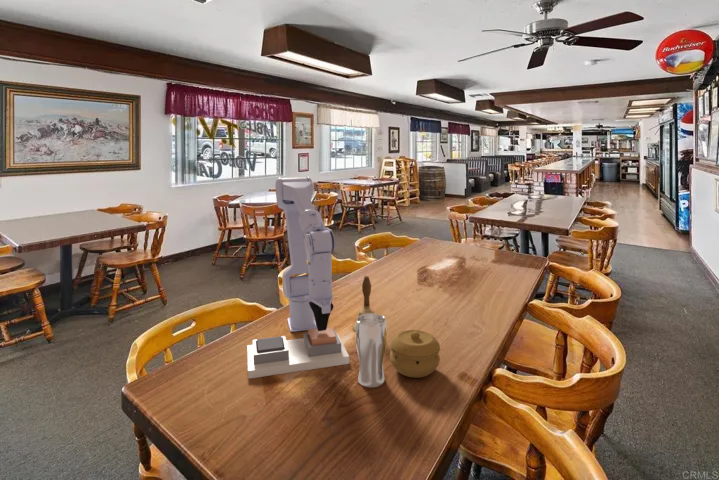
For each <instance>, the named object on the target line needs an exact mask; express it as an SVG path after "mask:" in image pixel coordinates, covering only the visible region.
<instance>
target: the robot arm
mask: <svg viewBox="0 0 719 480" xmlns="http://www.w3.org/2000/svg"><path fill="white" fill-rule="evenodd" d="M274 186H275V197H276V198H275V200H276V204H277V207H278V208H279V209H281V210H282V211H283V212H284V215H285V223H286V231H287V232H286V234H287V242H288V250H289V260H290V266H289V267H288V268H287V269H285V271H284V272H283V274H282V292H283V295H284V297H285V298H286V299H288V303H289V304H288V305H289V317H288V318H287V324H288V327H289V331H290V333H292V332H293V333H295V332H302V331H308V329H315V328H317V329H318V331H323V330H326V329H327V327H328V325H329V319H330V316H331V313H332V311H333V309H334V304H333V299H334V293H333V271H332V269H333V268H332V267H333V265H332V260H333V259H332V258H333V257H332V253H334V252H335V249H336V239H335V235H334V232H333V229H330V228H329V226H327V227H326V225H325V223H324V220H323V218H322V215H321V214H320V211H318V210H316V209H314V206H313V203H312V197H313V194H314V184H313V180H312V178H311V177H309V176H303V177H300V176H299V177H277V179H276V180H275V185H274ZM301 274H303V275H301ZM294 275H296V276H294Z"/></svg>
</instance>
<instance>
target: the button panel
mask: <svg viewBox="0 0 719 480" xmlns="http://www.w3.org/2000/svg"><path fill="white" fill-rule="evenodd" d="M332 330H333V332H334V334H335V336H336V343H328V344H321V345H313V346H311V344H310V341H309V334H308V332H304V333H303V337H301V338H294V339H288V340H287V337H286V335H281V338H282V343H283V348H284V349H283V350H276V351H268V352H261V353H258V346H257V338H256V339H255V338H254V339H252V344H248V345H246V347H247V349H246V350H247V377H248V380H250V379H256V378H262V377H268V376H275V375H276V376H277V375H283V374H289V373H296V372H301V371H304V372H305V371H309V370H316V369H324V368H330V367H335V366H341V365H349V364H350V355H349V353H348V351H347V349H346V347H345V345H344V344H343V341H342V340H341V338H340V336H339V334H338V333H337V332H336V330H335V329H332ZM278 337H280V336H278ZM264 338H265V337H264ZM264 338H262V339H264ZM270 338H272V337H270Z"/></svg>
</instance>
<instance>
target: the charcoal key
mask: <svg viewBox="0 0 719 480" xmlns="http://www.w3.org/2000/svg"><path fill="white" fill-rule="evenodd" d="M281 336H282V335H281ZM281 336H280V337H279V336H273V337H272V338H271V337H266V338H265V337H264V339H263V338H258V339H257V338H256V339H257V346H258V353H261V352H268V351H276V350H283V349H284V348H283V343H282V338H281Z"/></svg>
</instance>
